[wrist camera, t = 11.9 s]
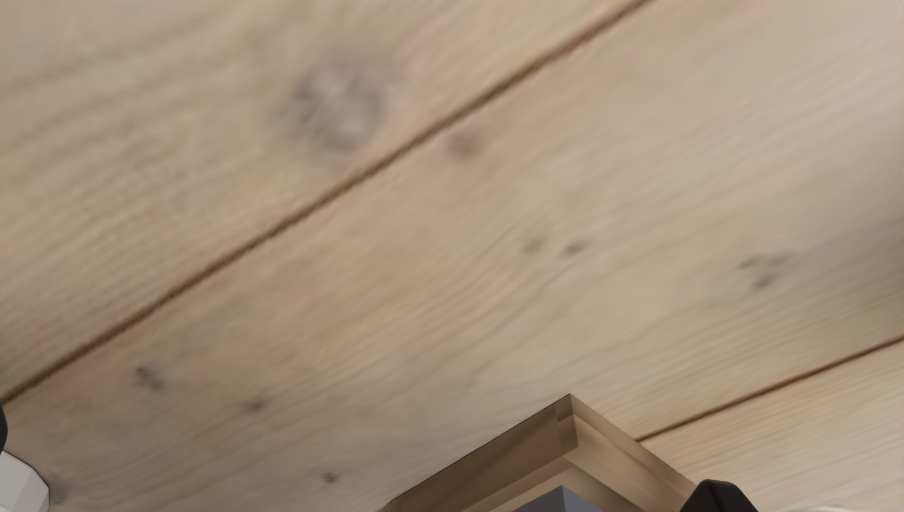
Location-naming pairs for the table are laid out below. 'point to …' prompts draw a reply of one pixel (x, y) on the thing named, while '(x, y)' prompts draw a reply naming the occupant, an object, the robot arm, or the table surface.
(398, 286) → the table surface
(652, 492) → the wooden tray
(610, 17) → the table surface
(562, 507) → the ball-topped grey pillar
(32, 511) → the white cup
